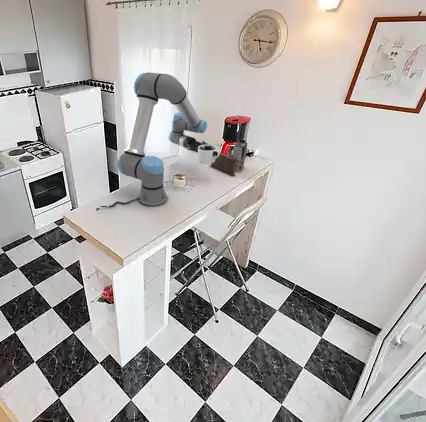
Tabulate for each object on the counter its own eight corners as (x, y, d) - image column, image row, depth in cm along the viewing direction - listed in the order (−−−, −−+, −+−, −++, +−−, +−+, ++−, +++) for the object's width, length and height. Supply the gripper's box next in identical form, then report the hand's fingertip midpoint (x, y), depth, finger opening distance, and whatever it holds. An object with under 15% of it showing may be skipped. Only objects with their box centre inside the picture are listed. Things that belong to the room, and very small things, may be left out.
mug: (193, 161, 172) (194, 148, 167) (204, 155, 177) (205, 143, 173) (212, 167, 163) (214, 153, 158) (223, 161, 168) (225, 148, 164)
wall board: (210, 166, 192) (211, 151, 186) (213, 165, 193) (214, 150, 187) (231, 176, 178) (234, 160, 173) (235, 175, 180) (237, 159, 174)
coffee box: (240, 172, 182) (244, 147, 174) (229, 170, 185) (233, 146, 177) (243, 166, 189) (248, 142, 180) (233, 164, 192) (237, 141, 183)
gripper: (196, 145, 186) (224, 156, 169) (178, 150, 180) (206, 163, 163) (196, 133, 182) (226, 144, 165) (178, 139, 176) (207, 150, 159)
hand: (216, 153), depth 164 cm, fingers closed on mug, 2 cm apart
